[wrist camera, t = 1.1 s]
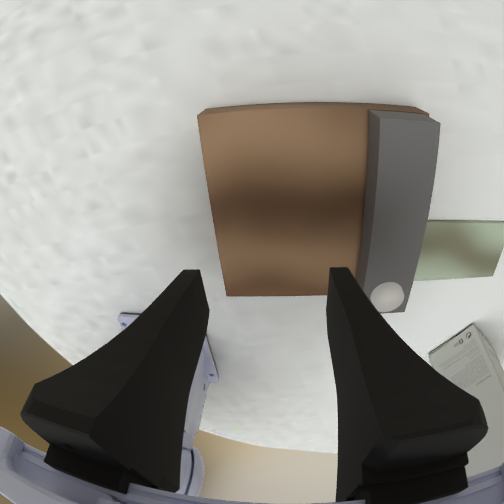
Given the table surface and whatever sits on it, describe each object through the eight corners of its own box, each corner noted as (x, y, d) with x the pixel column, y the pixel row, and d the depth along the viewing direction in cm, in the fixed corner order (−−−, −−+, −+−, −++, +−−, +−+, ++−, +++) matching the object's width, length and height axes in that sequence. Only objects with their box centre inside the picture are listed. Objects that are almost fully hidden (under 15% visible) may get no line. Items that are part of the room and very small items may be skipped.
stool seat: (491, 273, 21) (501, 289, 19) (231, 283, 24) (227, 301, 22) (528, 127, 14) (545, 136, 12) (205, 109, 17) (196, 115, 15)
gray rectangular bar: (396, 290, 20) (405, 316, 18) (354, 292, 20) (360, 319, 18) (423, 114, 13) (444, 125, 11) (368, 110, 14) (382, 119, 12)
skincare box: (426, 353, 27) (458, 492, 15) (476, 318, 24) (527, 458, 12) (455, 377, 30) (483, 490, 17) (497, 349, 27) (536, 462, 14)
